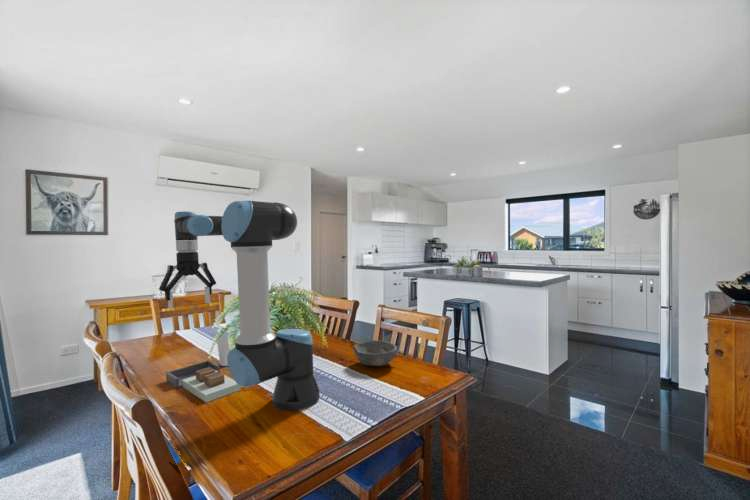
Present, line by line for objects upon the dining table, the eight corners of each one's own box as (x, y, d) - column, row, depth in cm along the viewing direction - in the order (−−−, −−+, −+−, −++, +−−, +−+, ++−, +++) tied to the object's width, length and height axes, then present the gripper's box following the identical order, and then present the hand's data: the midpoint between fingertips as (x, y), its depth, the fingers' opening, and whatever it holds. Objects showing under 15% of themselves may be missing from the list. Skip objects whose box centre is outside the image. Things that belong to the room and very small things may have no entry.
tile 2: (224, 383, 126) (224, 374, 126) (210, 387, 122) (210, 379, 122) (218, 379, 129) (217, 371, 129) (204, 384, 126) (203, 375, 125)
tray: (220, 374, 141) (219, 365, 140) (176, 388, 129) (176, 378, 128) (208, 368, 147) (208, 360, 147) (166, 381, 135) (166, 372, 135)
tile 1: (215, 378, 131) (215, 370, 131) (201, 382, 127) (201, 374, 127) (209, 374, 134) (209, 367, 134) (195, 379, 130) (195, 371, 130)
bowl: (404, 368, 142) (404, 348, 142) (363, 376, 136) (362, 355, 135) (386, 354, 159) (386, 337, 159) (349, 360, 152) (348, 342, 152)
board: (240, 390, 126) (240, 383, 126) (206, 402, 117) (205, 395, 117) (215, 376, 139) (214, 369, 139) (182, 386, 130) (182, 379, 130)
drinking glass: (228, 367, 148) (227, 332, 147) (214, 366, 149) (212, 331, 148) (238, 361, 154) (236, 327, 154) (224, 361, 156) (222, 327, 155)
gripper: (215, 249, 149) (217, 299, 150) (147, 253, 131) (150, 310, 132) (223, 250, 144) (225, 301, 145) (154, 253, 126) (157, 312, 127)
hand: (189, 305), depth 138 cm, fingers open, 13 cm apart
